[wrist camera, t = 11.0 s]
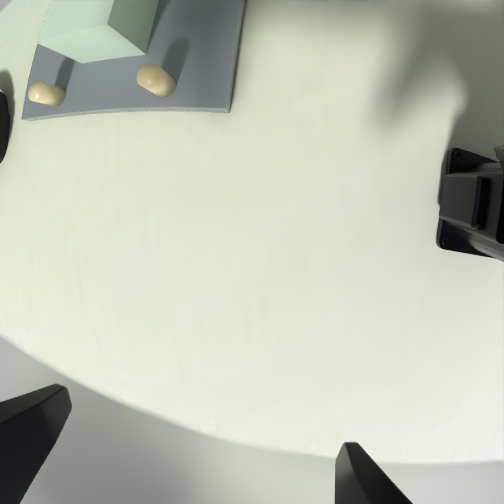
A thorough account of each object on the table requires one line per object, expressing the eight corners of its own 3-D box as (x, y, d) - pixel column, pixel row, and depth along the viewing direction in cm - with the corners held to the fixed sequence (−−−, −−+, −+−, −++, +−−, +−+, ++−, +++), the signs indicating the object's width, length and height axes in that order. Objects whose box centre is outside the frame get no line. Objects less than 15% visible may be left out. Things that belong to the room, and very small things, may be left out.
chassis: (254, -54, 14) (249, -84, 11) (229, 112, 17) (216, 97, 14) (70, -24, 15) (48, -40, 12) (31, 120, 19) (-1, 116, 15)
